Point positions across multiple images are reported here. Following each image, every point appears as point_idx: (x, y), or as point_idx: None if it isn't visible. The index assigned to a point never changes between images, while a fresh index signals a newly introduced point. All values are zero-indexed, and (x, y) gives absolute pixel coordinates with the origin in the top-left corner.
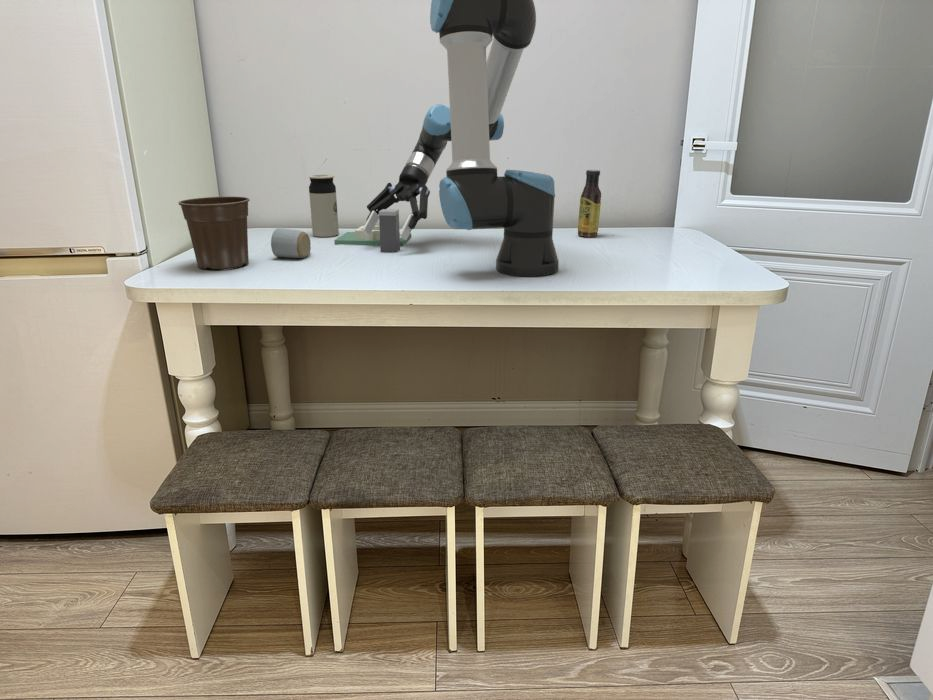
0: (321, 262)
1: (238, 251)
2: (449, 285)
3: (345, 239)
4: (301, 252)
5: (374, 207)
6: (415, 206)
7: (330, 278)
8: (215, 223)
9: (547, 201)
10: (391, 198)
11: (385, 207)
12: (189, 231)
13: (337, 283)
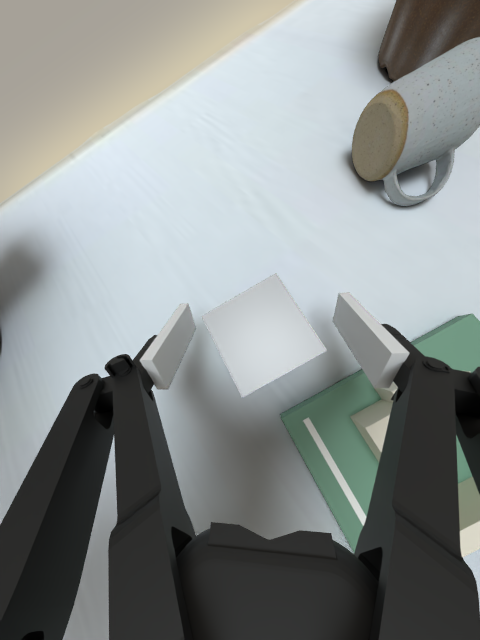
0: (295, 176)
1: (398, 10)
2: (31, 209)
3: (456, 343)
4: (352, 144)
5: (430, 375)
6: (115, 416)
7: (193, 130)
8: None
9: None
10: (384, 503)
11: (388, 437)
12: None
13: (166, 123)
